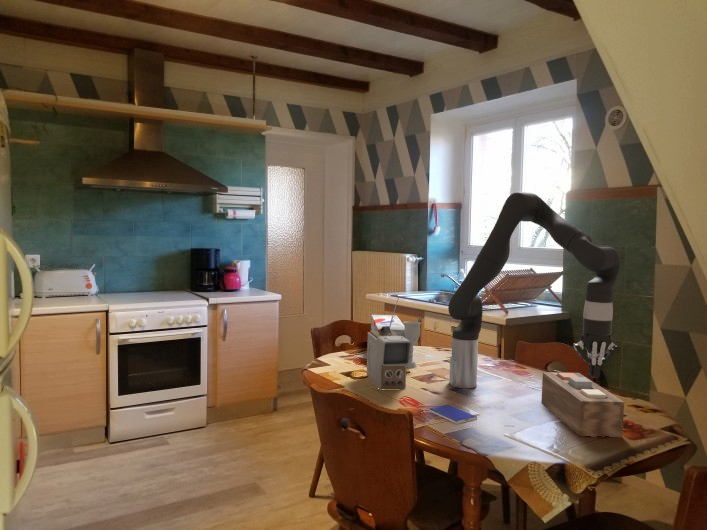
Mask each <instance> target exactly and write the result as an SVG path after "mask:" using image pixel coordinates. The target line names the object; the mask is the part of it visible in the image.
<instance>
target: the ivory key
mask: <svg viewBox="0 0 707 530" xmlns="http://www.w3.org/2000/svg"><path fill="white" fill-rule="evenodd" d="M581 394H582V395H584V396H585V397H587V398H606V394H604V393H603V392H601V391H600V390H598V389H581Z"/></svg>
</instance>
